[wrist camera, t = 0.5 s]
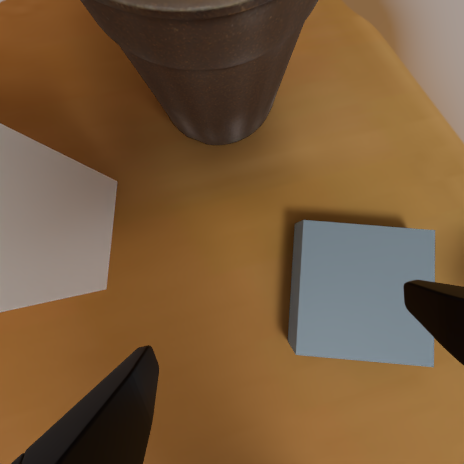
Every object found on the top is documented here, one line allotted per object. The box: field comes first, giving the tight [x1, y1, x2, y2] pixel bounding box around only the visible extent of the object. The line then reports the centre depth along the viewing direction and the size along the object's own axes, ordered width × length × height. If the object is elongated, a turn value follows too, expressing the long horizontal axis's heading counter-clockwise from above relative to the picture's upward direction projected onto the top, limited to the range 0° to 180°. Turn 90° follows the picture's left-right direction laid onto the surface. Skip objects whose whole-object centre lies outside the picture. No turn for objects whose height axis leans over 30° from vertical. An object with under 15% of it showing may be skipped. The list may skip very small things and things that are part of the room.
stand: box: [288, 220, 435, 367], centre depth 22 cm, size 12×12×3 cm
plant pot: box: [81, 0, 318, 145], centre depth 17 cm, size 16×16×16 cm
